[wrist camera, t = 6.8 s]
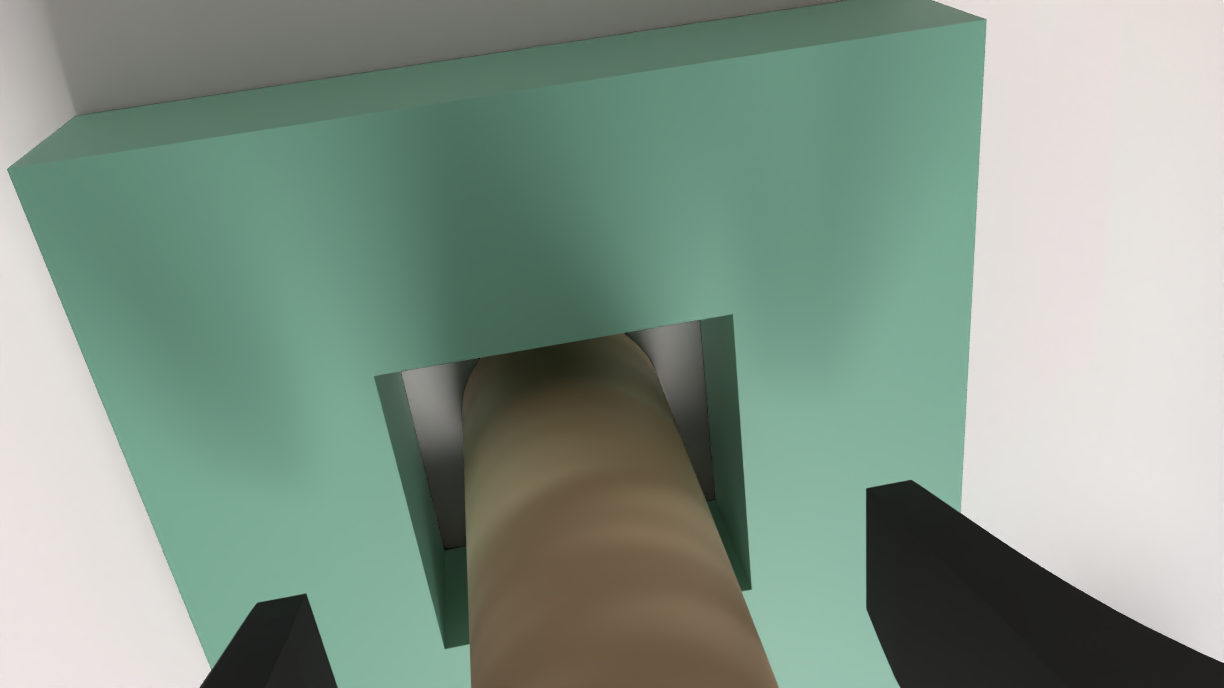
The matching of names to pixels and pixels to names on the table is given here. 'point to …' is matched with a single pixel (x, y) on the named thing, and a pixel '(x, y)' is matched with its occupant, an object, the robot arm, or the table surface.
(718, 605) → the dowel
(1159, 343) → the table surface
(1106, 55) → the table surface
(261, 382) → the socket block
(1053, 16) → the table surface
